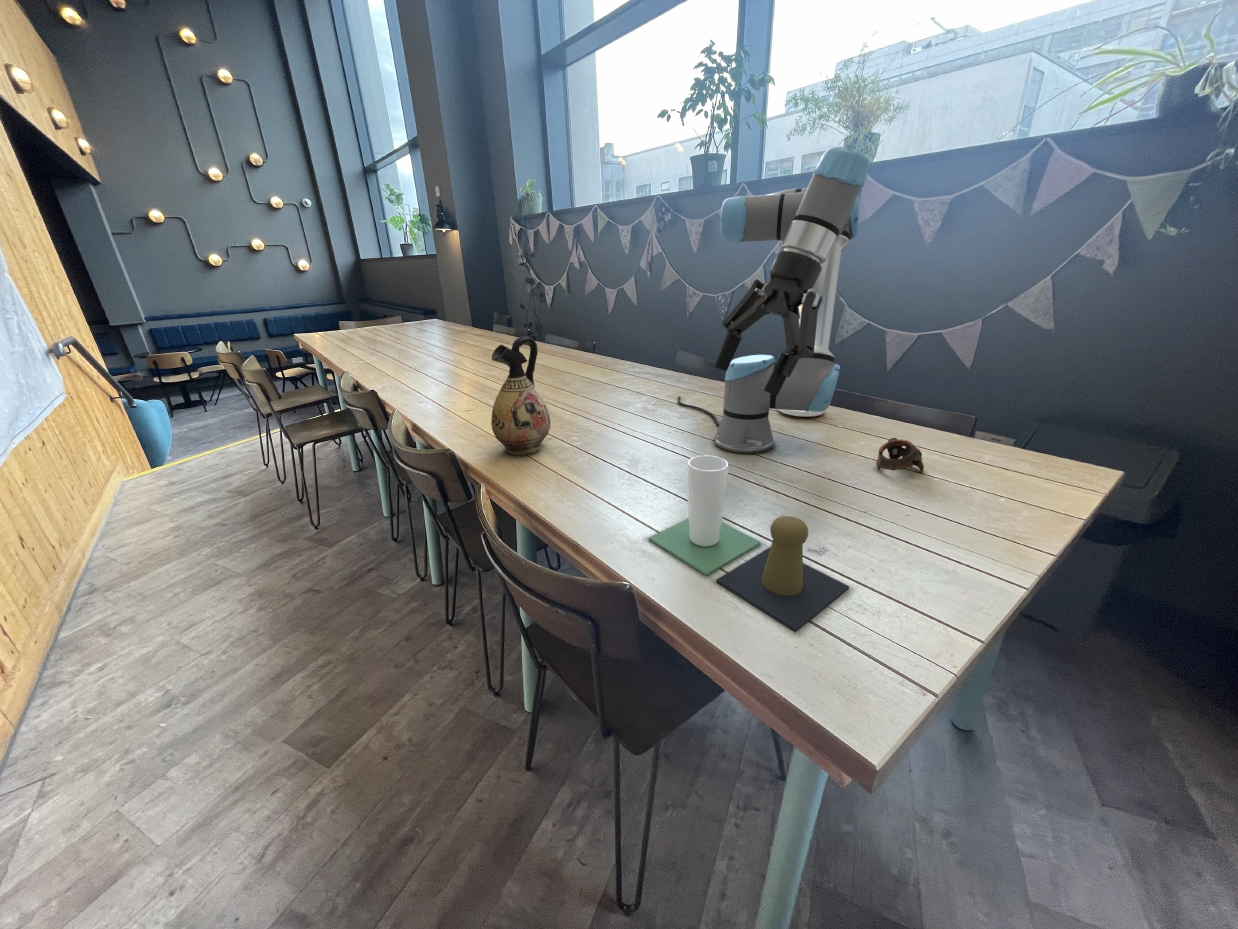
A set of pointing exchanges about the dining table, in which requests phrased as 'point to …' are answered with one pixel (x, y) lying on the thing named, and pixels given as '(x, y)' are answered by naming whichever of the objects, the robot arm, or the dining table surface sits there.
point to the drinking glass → (706, 498)
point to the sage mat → (701, 556)
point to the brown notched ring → (899, 455)
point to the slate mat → (783, 608)
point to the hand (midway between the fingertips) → (743, 380)
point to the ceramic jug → (519, 402)
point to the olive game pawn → (785, 556)
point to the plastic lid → (800, 412)
